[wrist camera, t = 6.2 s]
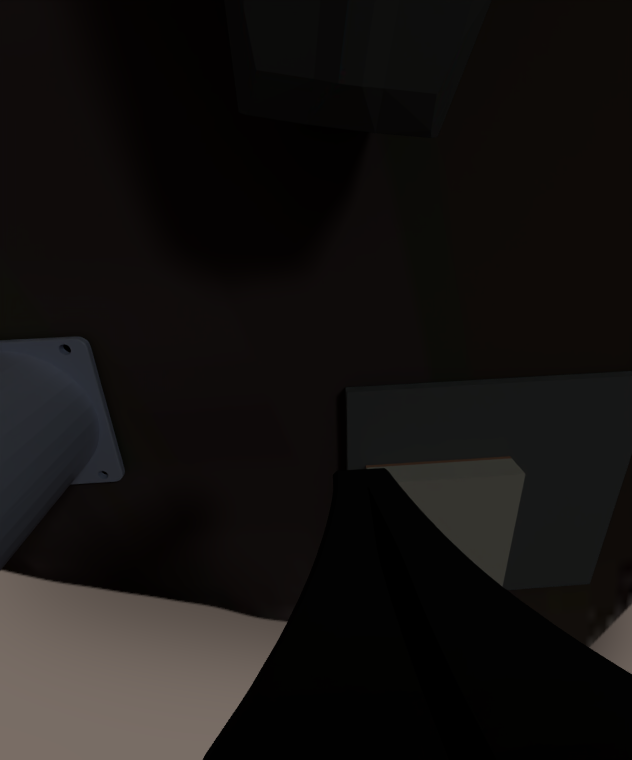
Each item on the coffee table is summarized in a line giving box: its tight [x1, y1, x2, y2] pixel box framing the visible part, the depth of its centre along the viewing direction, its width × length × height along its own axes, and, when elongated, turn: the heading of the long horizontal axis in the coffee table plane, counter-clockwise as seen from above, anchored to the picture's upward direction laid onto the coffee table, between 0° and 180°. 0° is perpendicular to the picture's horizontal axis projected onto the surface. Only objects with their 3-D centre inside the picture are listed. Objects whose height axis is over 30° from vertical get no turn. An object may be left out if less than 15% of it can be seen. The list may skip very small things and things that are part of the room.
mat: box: [345, 371, 632, 590], centre depth 23 cm, size 16×15×1 cm
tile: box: [366, 456, 525, 587], centre depth 23 cm, size 8×2×9 cm
